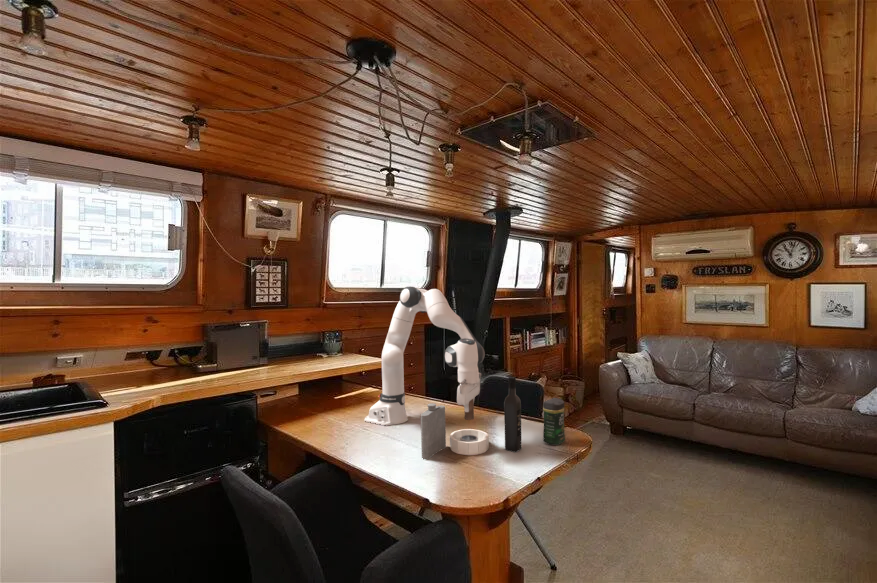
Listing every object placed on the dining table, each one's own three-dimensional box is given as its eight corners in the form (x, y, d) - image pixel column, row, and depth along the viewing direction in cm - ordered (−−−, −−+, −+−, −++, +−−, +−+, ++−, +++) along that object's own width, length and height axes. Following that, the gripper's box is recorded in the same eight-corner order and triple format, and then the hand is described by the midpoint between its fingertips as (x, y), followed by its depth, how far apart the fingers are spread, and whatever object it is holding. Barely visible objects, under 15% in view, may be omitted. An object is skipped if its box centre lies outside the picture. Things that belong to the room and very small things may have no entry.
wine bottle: (522, 448, 176) (521, 377, 175) (516, 452, 171) (515, 379, 171) (510, 445, 179) (508, 375, 179) (504, 450, 174) (502, 378, 174)
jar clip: (458, 447, 176) (458, 439, 176) (463, 440, 183) (463, 434, 183) (474, 449, 173) (474, 441, 173) (479, 443, 180) (479, 436, 180)
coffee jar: (557, 447, 176) (556, 403, 176) (540, 442, 182) (539, 400, 181) (568, 440, 183) (567, 398, 183) (551, 436, 189) (550, 395, 188)
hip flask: (426, 460, 166) (425, 409, 166) (418, 458, 168) (417, 408, 168) (447, 446, 180) (446, 400, 179) (439, 445, 182) (438, 399, 181)
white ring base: (444, 451, 174) (444, 439, 174) (457, 438, 189) (457, 427, 189) (482, 457, 168) (481, 444, 168) (492, 442, 183) (492, 431, 182)
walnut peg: (472, 420, 176) (471, 401, 176) (463, 419, 177) (462, 400, 177) (475, 417, 179) (474, 398, 179) (466, 416, 181) (465, 398, 181)
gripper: (467, 383, 167) (468, 417, 167) (482, 372, 186) (483, 404, 186) (452, 382, 170) (453, 416, 170) (468, 372, 188) (469, 402, 189)
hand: (469, 409), depth 178 cm, fingers closed on walnut peg, 4 cm apart
